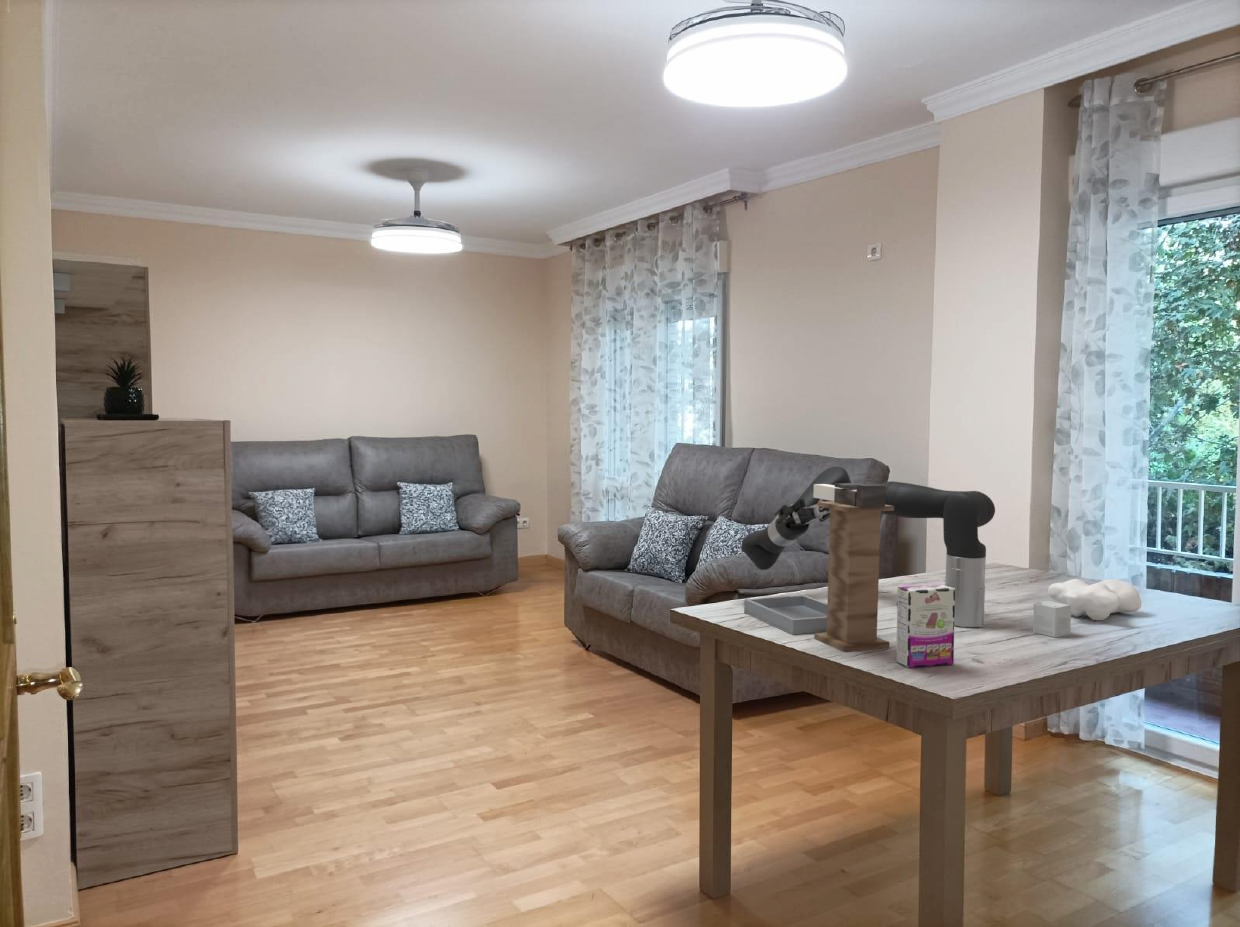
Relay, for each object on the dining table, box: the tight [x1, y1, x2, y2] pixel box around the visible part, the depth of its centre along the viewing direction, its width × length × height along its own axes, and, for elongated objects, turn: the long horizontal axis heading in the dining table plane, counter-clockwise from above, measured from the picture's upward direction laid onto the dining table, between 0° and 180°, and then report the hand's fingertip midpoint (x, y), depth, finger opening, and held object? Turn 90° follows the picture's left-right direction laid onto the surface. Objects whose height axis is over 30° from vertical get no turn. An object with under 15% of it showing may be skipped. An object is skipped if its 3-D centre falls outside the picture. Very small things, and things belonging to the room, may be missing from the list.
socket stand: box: [813, 482, 894, 653], centre depth 209 cm, size 13×12×37 cm
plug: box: [813, 484, 857, 501], centre depth 213 cm, size 19×3×3 cm, turn 21°
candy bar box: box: [895, 584, 955, 669], centre depth 194 cm, size 11×5×16 cm, turn 105°
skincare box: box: [1032, 600, 1072, 638], centre depth 221 cm, size 6×6×7 cm
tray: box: [743, 594, 827, 636], centre depth 231 cm, size 24×18×4 cm
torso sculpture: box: [1047, 578, 1142, 621], centre depth 239 cm, size 18×10×25 cm
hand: (818, 501), depth 222 cm, fingers open, 8 cm apart
